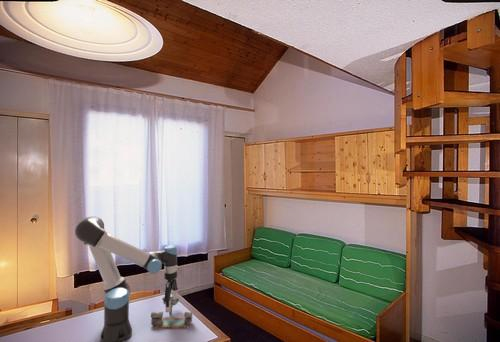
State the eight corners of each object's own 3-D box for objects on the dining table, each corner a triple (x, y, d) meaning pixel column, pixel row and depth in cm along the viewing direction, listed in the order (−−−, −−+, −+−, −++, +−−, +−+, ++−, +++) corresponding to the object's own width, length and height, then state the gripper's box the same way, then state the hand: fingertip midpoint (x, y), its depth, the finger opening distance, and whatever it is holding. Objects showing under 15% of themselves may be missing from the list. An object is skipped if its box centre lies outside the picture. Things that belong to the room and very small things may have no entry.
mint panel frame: (149, 328, 149) (149, 315, 149) (154, 319, 158) (154, 307, 158) (190, 328, 149) (190, 315, 149) (193, 319, 158) (193, 307, 158)
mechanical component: (177, 316, 162) (177, 299, 162) (161, 314, 164) (161, 298, 164) (179, 313, 165) (179, 297, 165) (164, 312, 167) (164, 295, 167)
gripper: (171, 279, 152) (171, 316, 152) (181, 264, 177) (182, 296, 177) (158, 279, 152) (158, 317, 152) (170, 264, 177) (170, 296, 177)
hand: (171, 306), depth 165 cm, fingers open, 13 cm apart
